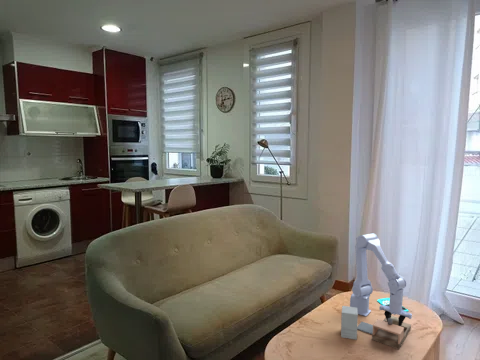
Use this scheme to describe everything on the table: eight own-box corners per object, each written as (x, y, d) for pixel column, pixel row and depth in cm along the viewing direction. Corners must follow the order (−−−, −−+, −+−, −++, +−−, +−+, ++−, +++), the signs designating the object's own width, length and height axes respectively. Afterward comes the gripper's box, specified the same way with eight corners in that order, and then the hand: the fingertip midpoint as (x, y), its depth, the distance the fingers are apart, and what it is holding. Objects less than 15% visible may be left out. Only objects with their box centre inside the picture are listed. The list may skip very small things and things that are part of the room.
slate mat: (356, 329, 168) (356, 327, 168) (361, 322, 174) (361, 321, 174) (372, 334, 163) (372, 333, 163) (377, 327, 169) (377, 326, 169)
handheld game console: (390, 299, 201) (390, 297, 201) (409, 312, 186) (409, 310, 186) (375, 301, 199) (375, 298, 199) (393, 314, 183) (393, 312, 183)
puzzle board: (371, 339, 159) (372, 335, 159) (385, 320, 176) (385, 316, 176) (399, 349, 152) (399, 345, 152) (410, 328, 169) (411, 324, 169)
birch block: (388, 330, 167) (389, 319, 166) (391, 327, 170) (391, 315, 169) (397, 333, 164) (398, 321, 164) (399, 329, 167) (400, 318, 167)
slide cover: (372, 334, 159) (373, 320, 158) (377, 328, 165) (377, 314, 164) (399, 344, 152) (400, 329, 151) (403, 337, 157) (404, 322, 156)
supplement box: (356, 332, 165) (358, 307, 164) (356, 340, 159) (358, 314, 157) (341, 329, 168) (342, 305, 166) (340, 337, 161) (341, 312, 159)
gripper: (378, 299, 167) (376, 325, 168) (410, 309, 158) (408, 336, 159) (382, 294, 172) (381, 320, 174) (413, 303, 163) (411, 330, 165)
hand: (394, 327), depth 167 cm, fingers closed on birch block, 4 cm apart
